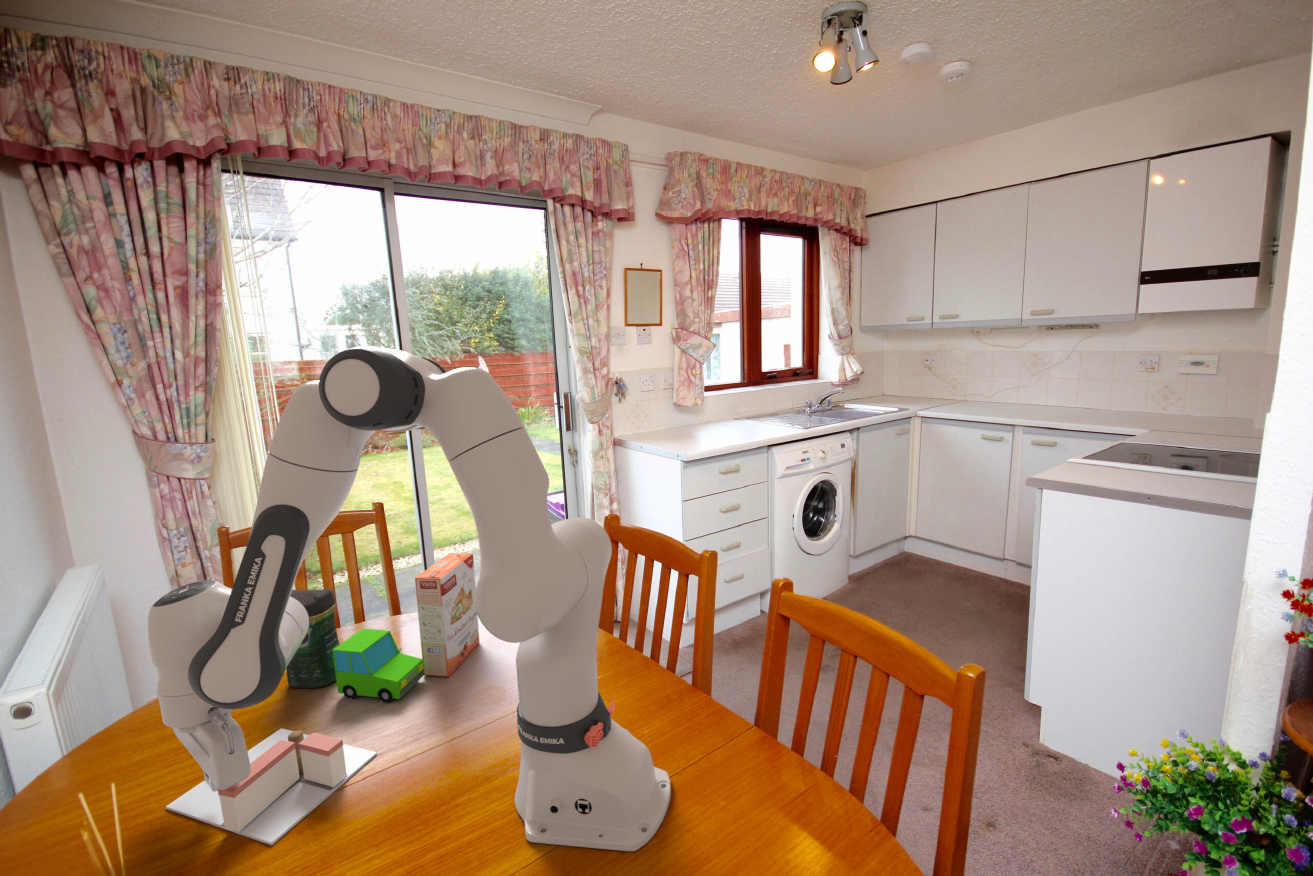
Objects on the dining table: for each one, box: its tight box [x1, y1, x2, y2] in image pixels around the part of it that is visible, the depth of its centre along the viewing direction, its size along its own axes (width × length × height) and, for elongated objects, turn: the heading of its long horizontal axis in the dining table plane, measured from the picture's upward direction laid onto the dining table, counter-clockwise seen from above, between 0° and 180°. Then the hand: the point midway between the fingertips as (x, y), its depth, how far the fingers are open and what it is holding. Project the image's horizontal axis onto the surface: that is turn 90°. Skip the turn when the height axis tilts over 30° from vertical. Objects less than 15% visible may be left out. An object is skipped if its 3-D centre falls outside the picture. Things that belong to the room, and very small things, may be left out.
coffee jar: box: [285, 588, 341, 689], centre depth 115 cm, size 10×8×19 cm
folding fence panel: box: [218, 740, 300, 832], centre depth 83 cm, size 10×3×6 cm, turn 167°
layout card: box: [165, 727, 378, 846], centre depth 89 cm, size 21×18×1 cm
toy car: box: [333, 628, 425, 704], centre depth 111 cm, size 10×13×10 cm
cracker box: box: [414, 552, 480, 678], centre depth 121 cm, size 14×6×21 cm, turn 172°
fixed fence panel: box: [298, 732, 347, 787], centre depth 88 cm, size 6×3×6 cm, turn 71°
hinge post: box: [288, 730, 304, 776], centre depth 90 cm, size 2×2×7 cm
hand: (216, 785), depth 84 cm, fingers closed
